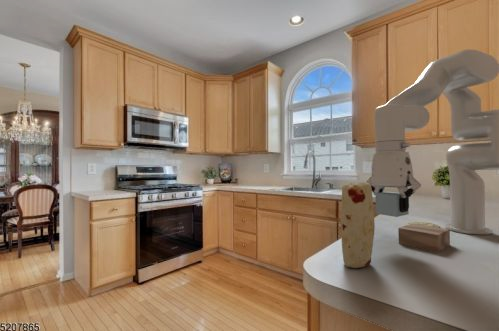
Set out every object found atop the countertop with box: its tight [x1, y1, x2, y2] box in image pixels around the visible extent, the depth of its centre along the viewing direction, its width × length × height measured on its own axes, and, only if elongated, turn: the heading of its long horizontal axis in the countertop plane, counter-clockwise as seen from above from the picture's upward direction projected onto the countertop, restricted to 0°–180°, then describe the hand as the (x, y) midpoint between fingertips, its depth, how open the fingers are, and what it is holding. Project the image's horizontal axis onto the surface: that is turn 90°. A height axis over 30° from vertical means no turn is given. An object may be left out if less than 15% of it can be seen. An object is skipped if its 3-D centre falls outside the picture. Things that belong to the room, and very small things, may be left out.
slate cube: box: [374, 191, 410, 218], centre depth 72 cm, size 6×6×6 cm
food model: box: [340, 181, 376, 269], centre depth 59 cm, size 10×7×20 cm
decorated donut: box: [405, 221, 442, 228], centre depth 86 cm, size 10×11×4 cm
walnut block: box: [397, 224, 451, 253], centre depth 75 cm, size 10×10×5 cm
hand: (391, 209), depth 72 cm, fingers closed on slate cube, 6 cm apart
